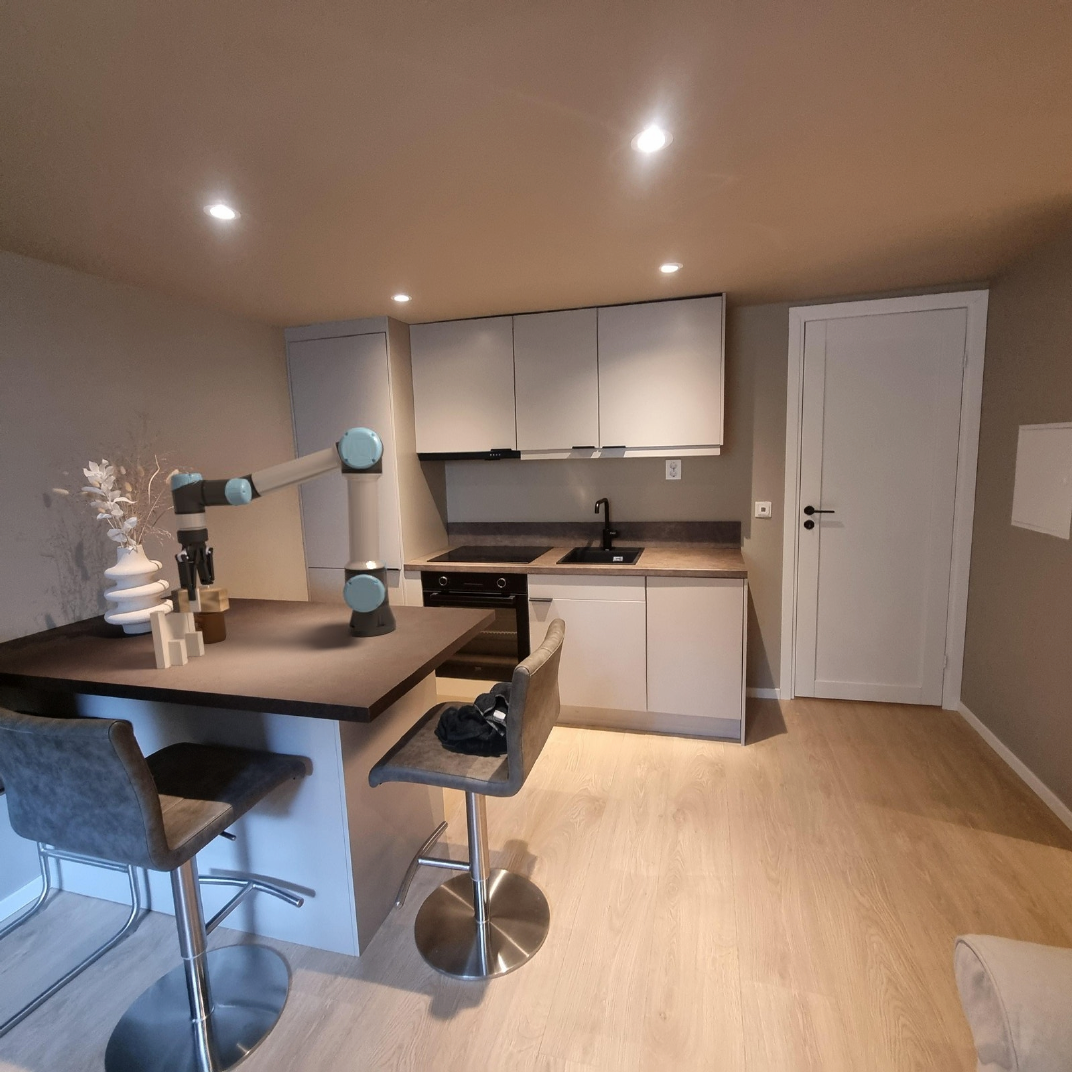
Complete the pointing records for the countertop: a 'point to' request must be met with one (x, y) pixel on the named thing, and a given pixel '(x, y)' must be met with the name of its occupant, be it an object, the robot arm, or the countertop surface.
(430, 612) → the countertop surface
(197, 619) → the mug
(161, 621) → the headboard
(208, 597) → the wooden block
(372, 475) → the robot arm
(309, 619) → the countertop surface
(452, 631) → the countertop surface
